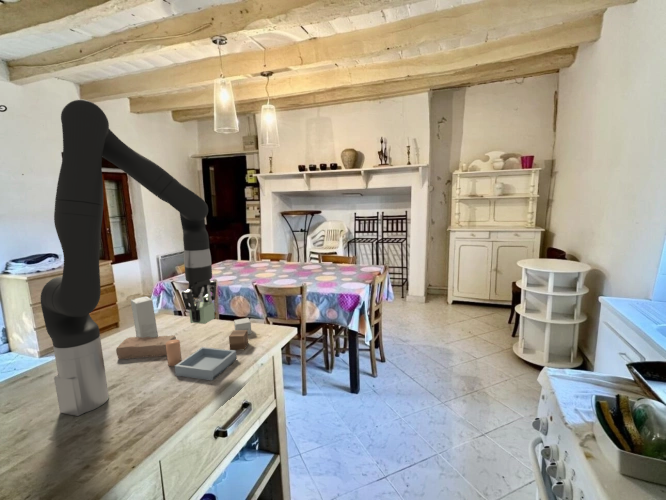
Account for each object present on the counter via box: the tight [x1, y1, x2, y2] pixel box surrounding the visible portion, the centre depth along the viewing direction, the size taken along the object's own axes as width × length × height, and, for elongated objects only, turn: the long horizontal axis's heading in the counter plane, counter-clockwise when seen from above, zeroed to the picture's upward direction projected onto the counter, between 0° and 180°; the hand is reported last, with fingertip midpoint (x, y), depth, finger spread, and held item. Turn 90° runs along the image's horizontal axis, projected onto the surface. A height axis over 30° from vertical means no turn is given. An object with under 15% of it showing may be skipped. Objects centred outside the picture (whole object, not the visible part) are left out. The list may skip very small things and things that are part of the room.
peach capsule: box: [166, 338, 183, 367], centre depth 103 cm, size 4×4×7 cm
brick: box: [115, 334, 177, 360], centre depth 112 cm, size 17×8×5 cm, turn 98°
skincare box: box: [130, 296, 159, 338], centre depth 124 cm, size 8×6×15 cm
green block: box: [189, 301, 216, 325], centre depth 100 cm, size 5×5×5 cm
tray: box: [174, 346, 237, 381], centre depth 100 cm, size 13×13×3 cm
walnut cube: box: [228, 329, 249, 351], centre depth 114 cm, size 5×5×5 cm
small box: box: [233, 317, 252, 335], centre depth 126 cm, size 6×6×5 cm
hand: (202, 318), depth 100 cm, fingers closed on green block, 5 cm apart
